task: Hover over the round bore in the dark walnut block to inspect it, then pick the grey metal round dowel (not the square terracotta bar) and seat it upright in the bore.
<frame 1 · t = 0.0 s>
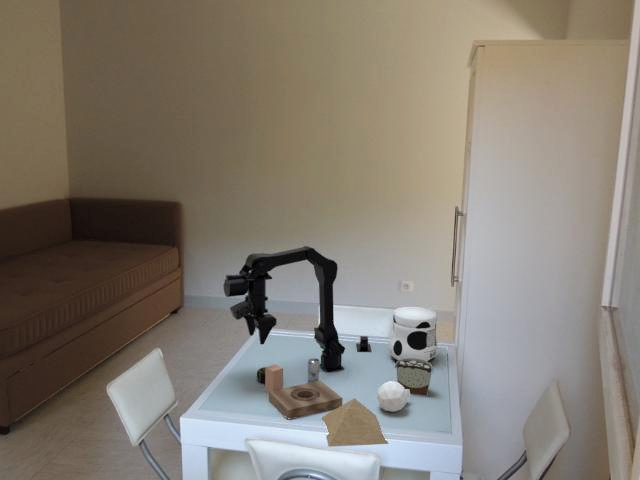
hand: (256, 339, 190), 15 cm above the table, fingers open, 9 cm apart
bore block: (305, 403, 178), on the table
black stepped block: (363, 349, 226), on the table
perfume bottle: (395, 409, 175), on the table
square bar: (274, 391, 186), on the table
model pyramid: (353, 431, 163), on the table
round dowel: (313, 383, 192), on the table
milk container: (412, 359, 215), on the table
food container: (414, 391, 189), on the table
tape measure: (269, 380, 195), on the table
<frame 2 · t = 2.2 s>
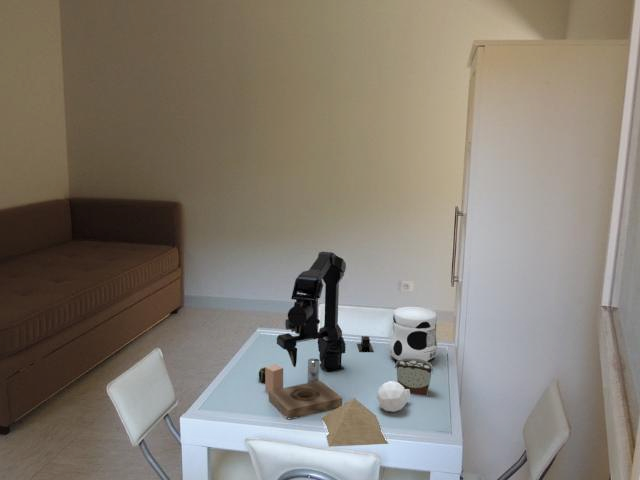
hand: (307, 363, 179), 11 cm above the table, fingers open, 9 cm apart
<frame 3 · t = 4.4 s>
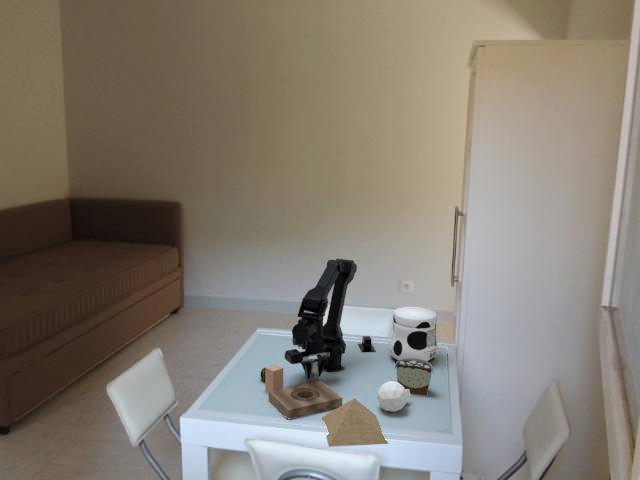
hand: (313, 377, 192), 2 cm above the table, fingers closed on round dowel, 4 cm apart
round dowel: (313, 383, 192), on the table, touching gripper
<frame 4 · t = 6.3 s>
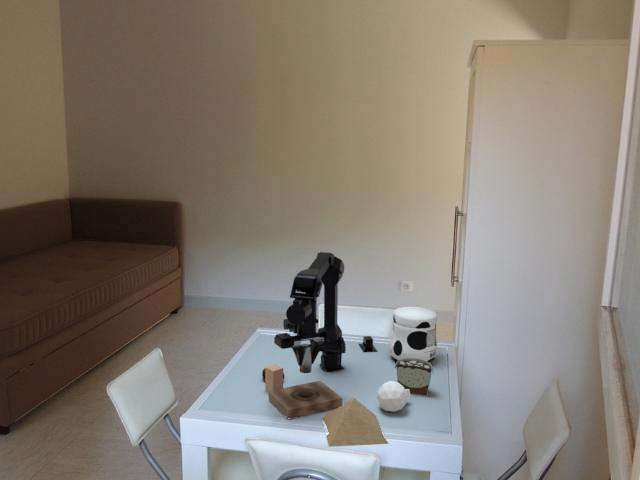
hand: (305, 364, 176), 12 cm above the table, fingers closed on round dowel, 4 cm apart
round dowel: (305, 371, 176), point 10 cm above the table, touching gripper
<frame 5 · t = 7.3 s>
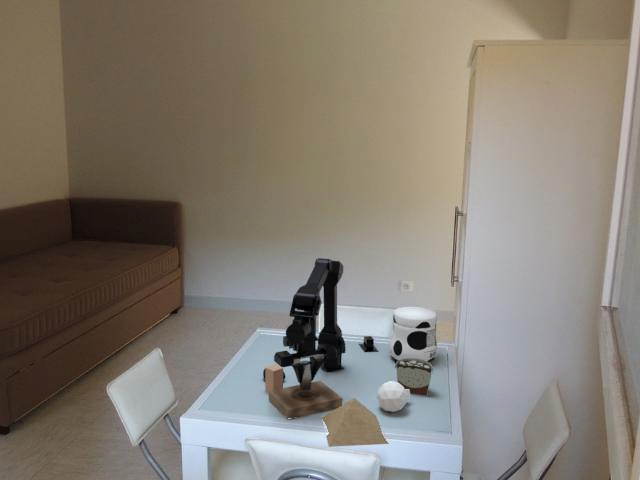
hand: (305, 381, 177), 7 cm above the table, fingers closed on round dowel, 4 cm apart
round dowel: (305, 387, 177), point 5 cm above the table, touching gripper
when the fingers open (4 cm above the table, at t = 8.1 s): round dowel drops 2 cm, resting in bore block.
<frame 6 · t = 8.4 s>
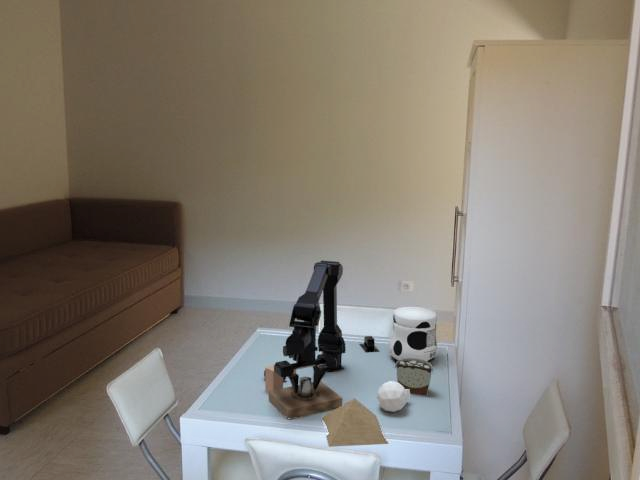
hand: (305, 391, 177), 4 cm above the table, fingers open, 6 cm apart
round dowel: (304, 403, 178), resting in bore block
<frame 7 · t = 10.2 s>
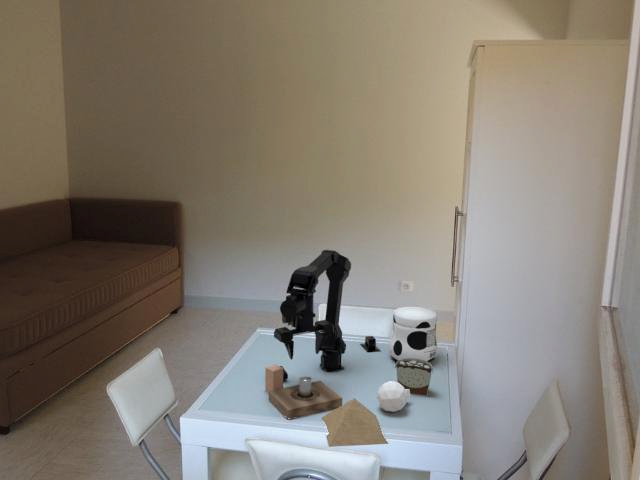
hand: (304, 356, 185), 11 cm above the table, fingers open, 9 cm apart
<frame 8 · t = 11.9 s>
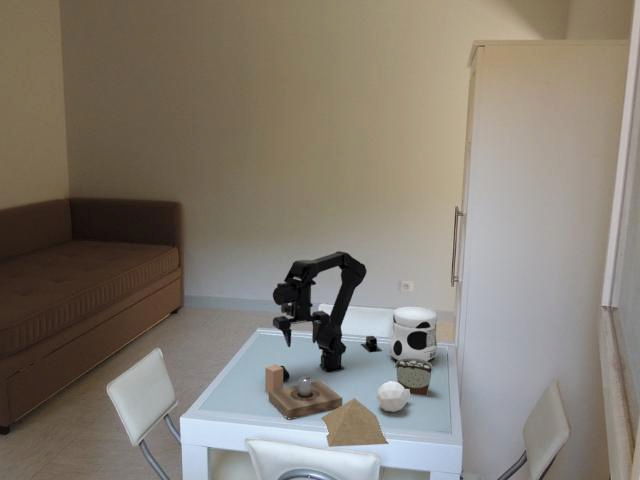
hand: (301, 344, 194), 12 cm above the table, fingers open, 9 cm apart
at the end: round dowel 0.0 cm off-centre in the bore block, point 0.0 cm above the bore block's base; round dowel tilted 1°; the gripper is holding nothing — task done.
